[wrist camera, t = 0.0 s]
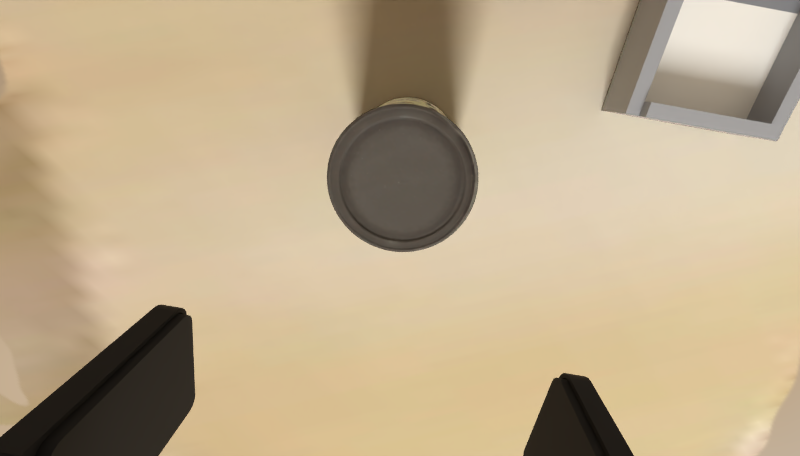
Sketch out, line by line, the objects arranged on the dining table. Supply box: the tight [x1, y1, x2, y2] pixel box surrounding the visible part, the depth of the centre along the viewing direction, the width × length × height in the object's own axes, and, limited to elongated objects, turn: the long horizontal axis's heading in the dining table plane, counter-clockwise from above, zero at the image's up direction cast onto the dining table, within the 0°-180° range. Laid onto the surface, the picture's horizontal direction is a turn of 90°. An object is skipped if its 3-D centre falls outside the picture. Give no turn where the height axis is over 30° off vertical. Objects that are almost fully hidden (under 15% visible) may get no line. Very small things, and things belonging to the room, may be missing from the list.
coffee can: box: [327, 97, 478, 252], centre depth 32 cm, size 10×10×14 cm
